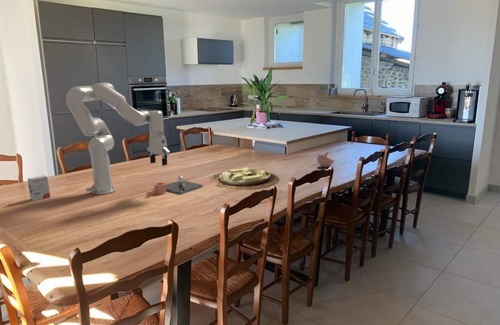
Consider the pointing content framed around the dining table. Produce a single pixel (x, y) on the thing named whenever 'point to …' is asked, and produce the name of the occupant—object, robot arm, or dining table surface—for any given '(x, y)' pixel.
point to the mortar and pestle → (324, 160)
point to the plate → (246, 179)
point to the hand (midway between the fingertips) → (158, 164)
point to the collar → (157, 189)
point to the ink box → (38, 187)
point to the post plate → (182, 186)
